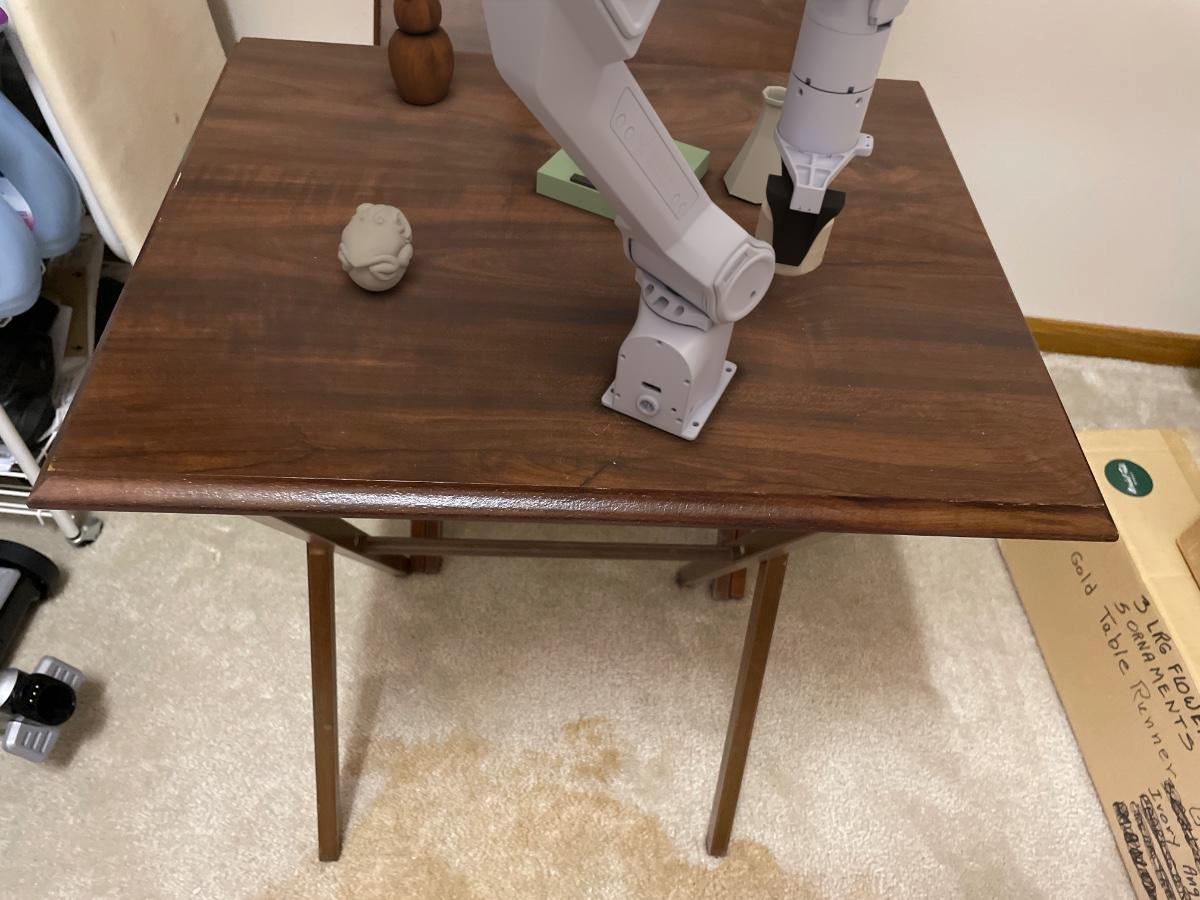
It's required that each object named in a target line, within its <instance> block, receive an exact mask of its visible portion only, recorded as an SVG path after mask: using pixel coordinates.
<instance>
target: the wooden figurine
mask: <svg viewBox="0 0 1200 900" xmlns="http://www.w3.org/2000/svg"><path fill="white" fill-rule="evenodd" d="M392 5H393V6H392V7H393V16H394V17H393V18H394V21H395V23H396V26H397V27H398V28H396V29H394V32H393V33H392V34H391V36H390V38H389V39H388V44H387V59H388V65H389V70H390V73H391V77H392V80H393V82H394V85H395V86H396V89H397V91H398V93H399V94H400V96H401V97H402V98H403V99H404V100H405V101H407V102H408V103H411V104H414V105H429V104H433V103H436V102H439V101H440V100H441V99H443V98H444V97H446V96H447V93H448V91H449V89H450V86H451V84H452V80H453V76H454V72H455V71H454V70H455V53H454V46H453V44H452V41H451V39H450V36H449V34H448V33H447V31H446V30H445V29H444V27H442V26H441V22H442V19H443V9H442V4H441V2H440V0H394V1H393V4H392Z"/></svg>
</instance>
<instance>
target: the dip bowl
mask: <svg viewBox="0 0 1200 900" xmlns="http://www.w3.org/2000/svg"><path fill="white" fill-rule="evenodd" d="M759 211H760V212H759V216H758V220H757V224H756V229H755V234H754V236H753V237H754V238H755V239H757V240H760V241H765V242H767V243H768V244H769V245H771V246H772V241H773V219H772V213H771V210H770V207H769V204H768V202H767V198H766V197H765V198H764V199H763V203H761V207H760V210H759ZM834 222H835V217H834V218H833V219H832V220H831V221H830V222H829V223H828V224H827V225H826V226H825V227H824V228H823V229H822V230H821V232H820V233H819V234H818V236H817V237H816V239H815V241H814V243H813V244H812V246H811V248H810V250H809V252H808V253H807V255H806V257H805V258H804V260H803V261H802V263H801V264H800V266H799V267H795V266H790V265H784V264H779V263H775V271H774V274H777V275H781V276H788V277H799V276H803V275H806V274H808V273H810V272H812V271H814V270H815V269H817V267H819V266H820V265H821V264H822V262H823V259H824V255H825V251H826V248H827V246H828V242H829V238H830V236H831V232H832V228H833V226H834Z"/></svg>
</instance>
